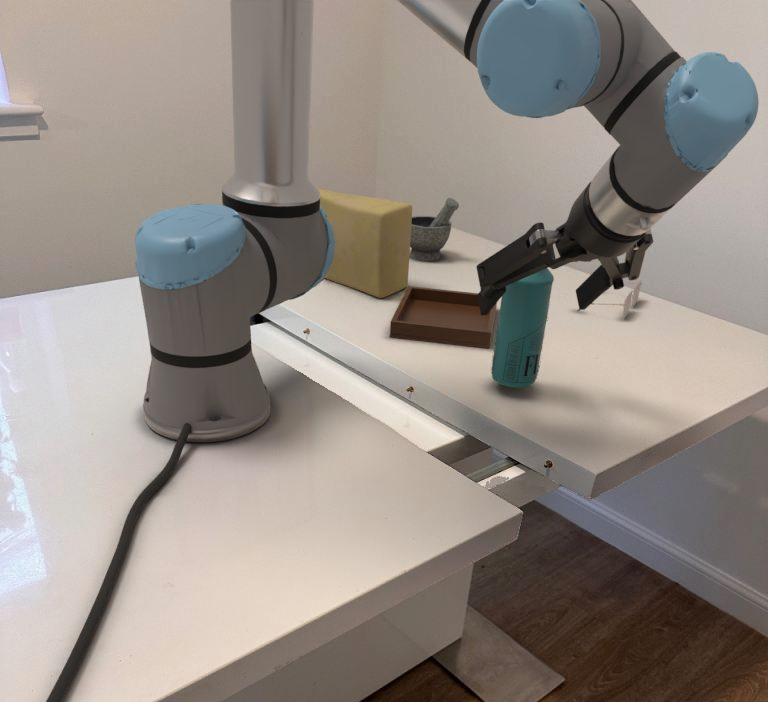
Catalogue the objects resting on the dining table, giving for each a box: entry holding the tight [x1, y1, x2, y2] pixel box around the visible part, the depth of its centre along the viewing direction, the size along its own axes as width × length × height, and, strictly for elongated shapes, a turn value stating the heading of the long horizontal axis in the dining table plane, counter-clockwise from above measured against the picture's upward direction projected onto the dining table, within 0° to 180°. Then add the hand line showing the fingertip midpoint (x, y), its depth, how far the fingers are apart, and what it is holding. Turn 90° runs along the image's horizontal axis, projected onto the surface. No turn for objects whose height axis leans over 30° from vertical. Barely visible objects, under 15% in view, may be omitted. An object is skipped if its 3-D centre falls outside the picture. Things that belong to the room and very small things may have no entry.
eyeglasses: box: [576, 279, 643, 319], centre depth 128 cm, size 14×8×4 cm, turn 152°
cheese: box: [316, 187, 413, 299], centre depth 129 cm, size 22×10×15 cm, turn 56°
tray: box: [389, 285, 498, 349], centre depth 118 cm, size 18×16×3 cm
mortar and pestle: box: [409, 197, 460, 262], centre depth 145 cm, size 11×9×12 cm
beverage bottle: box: [490, 267, 555, 388], centre depth 94 cm, size 6×7×20 cm
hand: (531, 302), depth 91 cm, fingers open, 13 cm apart
